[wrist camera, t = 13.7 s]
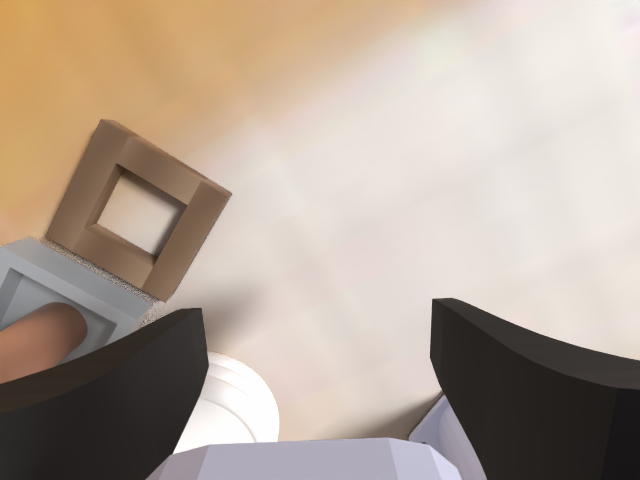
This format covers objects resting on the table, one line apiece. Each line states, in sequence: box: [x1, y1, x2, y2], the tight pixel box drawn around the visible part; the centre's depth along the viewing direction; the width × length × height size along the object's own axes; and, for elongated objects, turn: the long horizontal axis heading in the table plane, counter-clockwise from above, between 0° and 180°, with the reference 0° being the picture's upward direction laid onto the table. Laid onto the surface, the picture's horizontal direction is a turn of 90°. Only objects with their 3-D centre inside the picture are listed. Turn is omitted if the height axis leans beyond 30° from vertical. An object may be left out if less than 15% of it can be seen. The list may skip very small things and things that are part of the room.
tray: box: [0, 237, 153, 367], centre depth 21 cm, size 8×8×2 cm
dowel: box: [0, 302, 87, 384], centre depth 18 cm, size 3×3×7 cm
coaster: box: [173, 351, 279, 454], centre depth 23 cm, size 10×10×4 cm
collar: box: [45, 119, 232, 303], centre depth 20 cm, size 7×7×1 cm
